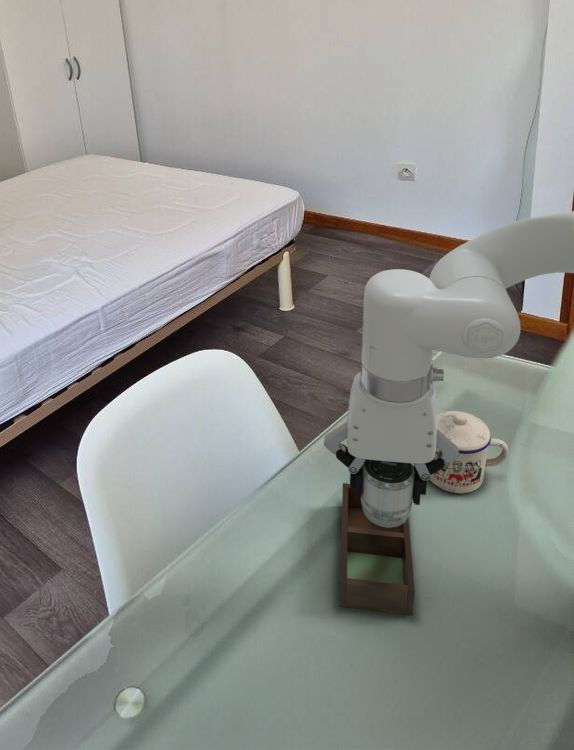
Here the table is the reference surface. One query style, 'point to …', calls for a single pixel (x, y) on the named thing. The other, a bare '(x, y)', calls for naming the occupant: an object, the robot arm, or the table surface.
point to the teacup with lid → (466, 452)
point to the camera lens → (387, 491)
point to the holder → (374, 561)
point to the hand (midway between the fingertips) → (386, 492)
